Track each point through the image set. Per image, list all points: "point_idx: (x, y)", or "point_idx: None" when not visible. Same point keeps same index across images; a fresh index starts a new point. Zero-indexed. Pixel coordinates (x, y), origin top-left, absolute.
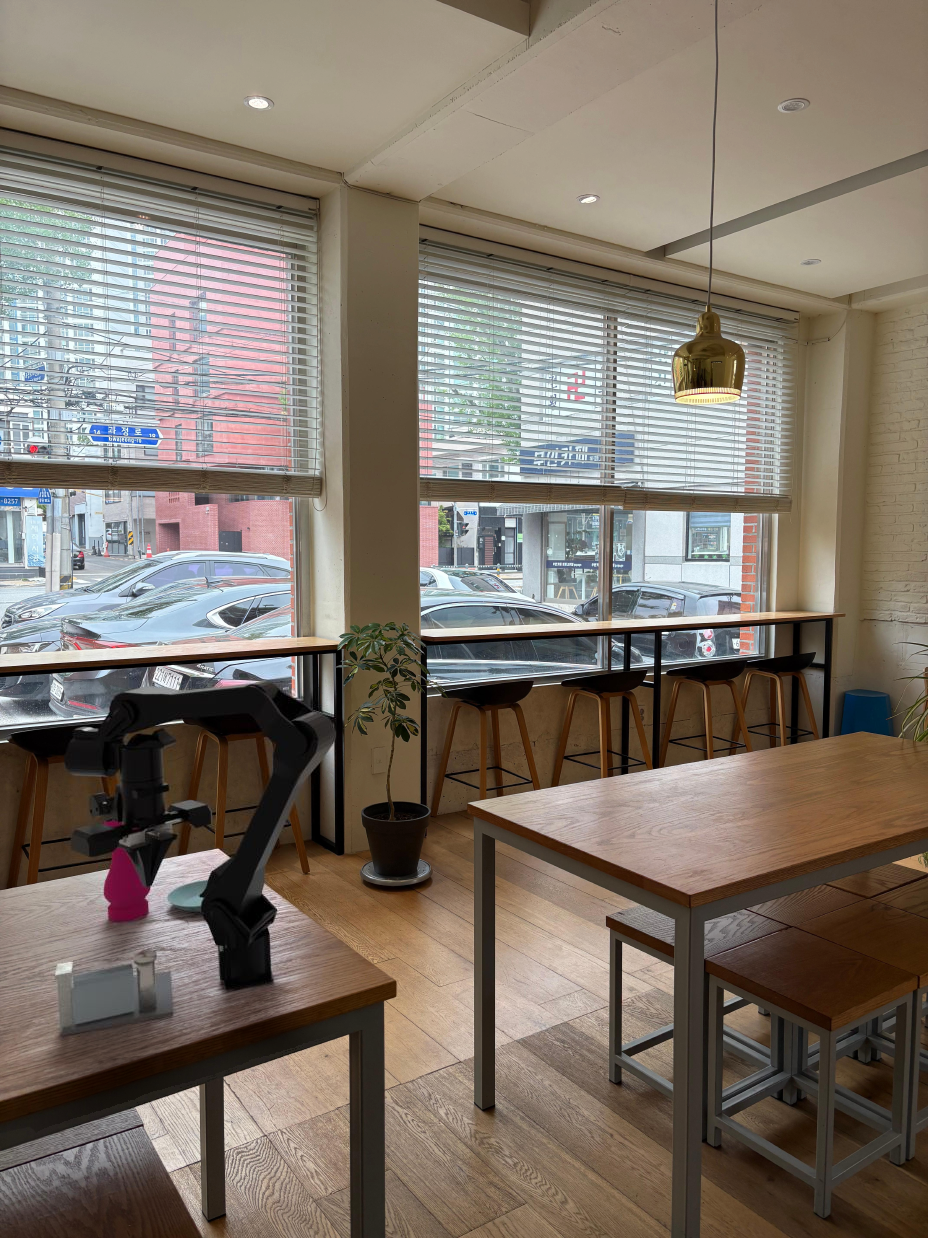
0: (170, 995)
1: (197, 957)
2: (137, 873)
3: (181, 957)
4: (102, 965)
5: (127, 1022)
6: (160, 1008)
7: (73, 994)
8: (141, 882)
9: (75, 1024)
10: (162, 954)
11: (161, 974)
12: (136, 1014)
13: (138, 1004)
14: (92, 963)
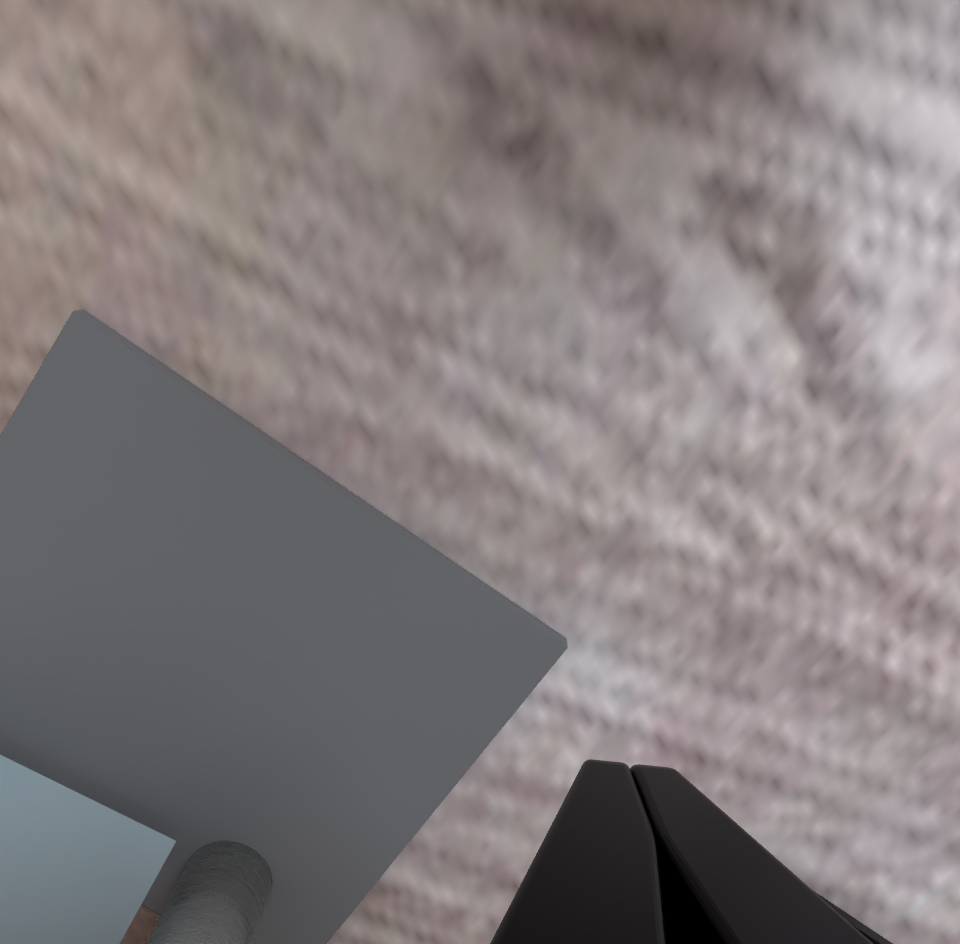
0: (380, 867)
1: (813, 589)
2: (539, 855)
3: (764, 504)
4: (408, 142)
5: None
6: (267, 927)
7: (49, 412)
8: (573, 783)
9: None
10: (734, 358)
11: (506, 641)
12: (162, 877)
13: (179, 879)
14: (385, 45)
